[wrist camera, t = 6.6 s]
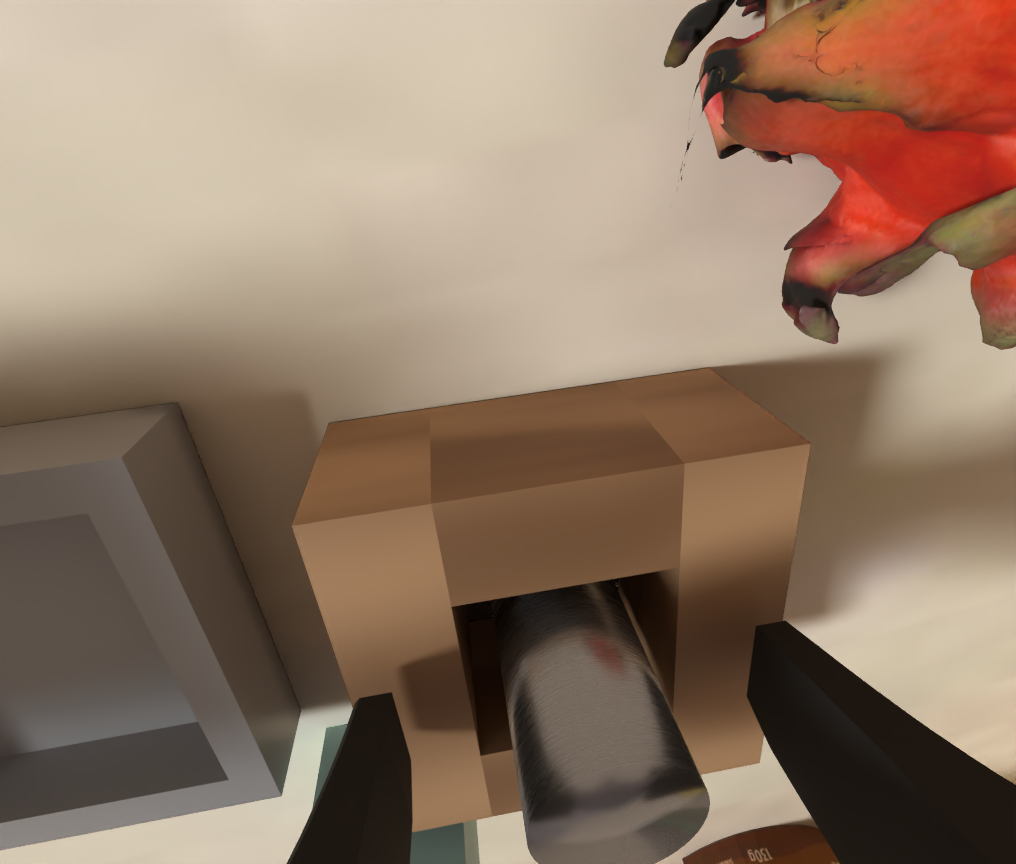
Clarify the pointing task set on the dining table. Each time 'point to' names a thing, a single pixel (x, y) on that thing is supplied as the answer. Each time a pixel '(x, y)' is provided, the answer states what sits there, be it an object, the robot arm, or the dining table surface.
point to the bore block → (551, 558)
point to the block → (434, 852)
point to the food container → (768, 847)
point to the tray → (127, 634)
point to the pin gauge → (592, 732)
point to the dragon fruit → (877, 138)
